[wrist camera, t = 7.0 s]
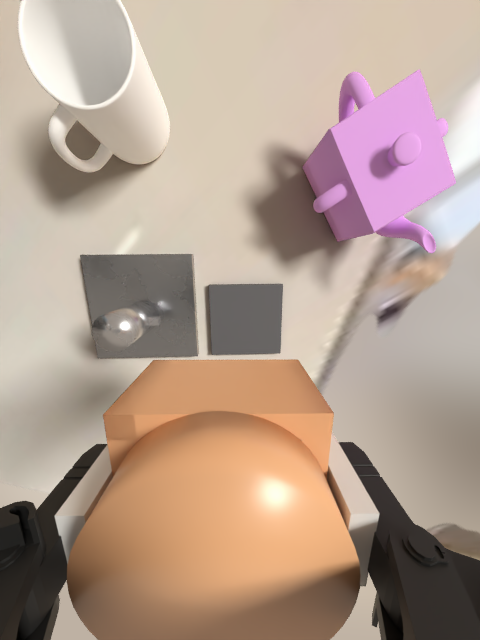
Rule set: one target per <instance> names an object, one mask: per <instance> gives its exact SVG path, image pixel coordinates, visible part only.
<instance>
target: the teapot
mask: <svg viewBox="0 0 480 640" xmlns="http://www.w3.org/2000/svg"><path fill="white" fill-rule="evenodd" d="M355 103H356V105H357V107H358V109H359V110H357V111H356V112H354V104H355ZM447 132H448V124H447V122H446V120H445V119H444V118H440V119H438V120H436V116H435V113H434V110H433V107H432V104H431V101H430V98H429V95H428V92H427V89H426V86H425V83H424V80H423V77H422V74H421V71H420V69H419V70H417V71H416V72H414V73H413V74H411V75H410V76H408V77H407V78H405V79H404V80H402V81H401V82H399V83H398V84H396V85H395V86H393V87H392V88H390V89H389V90H387V91H386V92H384V93H383V94H381V95H380V96H378V97H377V98H375V97H374V95H373V92H372V90H371V88H370V86H369V84H368V83H367V81H366V79H365V78H364V77H363V76H362V75H361V74H360V73H358V72H352V73H350V74H348V75H347V76H346V78H345V79H344V81H343V83H342V87H341V91H340V98H339V123H338V124H336V125H335V126H333V127H332V128H330V129H329V130H328V131H327V133H326V134H325V136H324V137H323V138H322V140H321V141H320V143H319V144H318V146H317V147H316V148H315V150H314V151H313V153H312V154H311V155H310V157H309V158H308V160H307V161H306V163H305V164H304V165H303V167H302V168H303V170H304V172H305V174H306V176H307V179H308V181H309V183H310V185H311V187H312V189H313V191H314V193H315V196H316V198H317V199H316V200H315V201H314V203H313V207H314V210H315V211H316V212H318V213H321V212H323V213H324V215H325V217H326V219H327V221H328V223H329V225H330V227H331V230H332V232H333V234H334V236H335V238H336V240H337V242H339V241H343V240H347V239H351V238H356V237H360V236H364V235H368V234H373V233H375V232H376V233H377V234H379V235H381V236H385V237H393V238H406V239H410V240H413V241H415V242H417V243H419V244H420V245H421V246H422V247H423V248H424V249H425V250H426V251H427V252H429V253H434V252H435V250H436V243H435V240H434V238H433V236H432V234H431V233H430V232H429V231H428V230H427V229H425V228H424V227H422V226H420V225H418V224H415V223H412V222H410V221H408V220H407V219H406V218H405V217H404V216H403V215H404V214H406V213H408V212H409V211H411V210H413V209H414V208H416V207H418V206H419V205H421V204H423V203H424V202H426V201H427V200H429V199H431V198H432V197H434V196H436V195H437V194H439V193H441V192H442V191H444V190H446V189H447V188H449V187H451V186H452V185H454V184H456V181H455V177H454V174H453V170H452V167H451V164H450V161H449V157H448V154H447V151H446V148H445V145H444V141H443V138H442V137H443V136H445V135H446V134H447Z"/></svg>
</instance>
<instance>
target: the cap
mask: <svg viewBox="0 0 480 640" xmlns="http://www.w3.org/2000/svg"><path fill="white" fill-rule="evenodd" d="M333 417H334V413H333V411H332V410H331V408H330V407H329V405H328V404H327V402H326V401H325V399H324V398H323V396H322V395H321V393H320V392H319V390H318V389H317V387H316V386H315V384H314V383H313V381H312V380H311V378H310V377H309V375H308V374H307V372H306V371H305V369H304V368H303V367H302V365H301V364H300V362H299V361H298V360H153V361H152V362H151V363H150V365H149V366H148V367H147V368H146V369H145V370H144V371H143V372H142V373H141V374H140V375H139V376H138V378H137V379H136V380H135V381H134V382H133V383H132V384H131V385H130V386H129V387H128V388H127V389H126V391H125V392H124V393H123V394H122V395H121V396H120V397H119V398H118V399H117V400H116V401H115V402H114V404H113V405H112V406H111V407H110V408H109V409H108V410H107V411H106V412H105V413H104V414H103V418H104V424H105V431H106V437H107V443H108V450H109V456H110V462H111V469H112V475H113V478H112V480H111V481H110V483H109V485H108V486H107V488H106V490H105V491H104V493H103V495H102V496H101V498H100V500H99V501H98V503H97V505H96V506H95V508H94V510H93V511H92V513H91V515H90V516H89V518H88V520H87V521H86V523H85V525H84V526H83V528H82V530H81V531H80V533H79V535H78V536H77V538H76V540H75V543H74V545H73V547H72V550H71V552H70V556H69V561H68V565H67V584H68V591H69V595H70V598H71V601H72V604H73V607H74V608H75V610H76V612H77V614H78V616H79V618H80V619H81V621H82V622H83V623H84V625H85V626H86V627H87V629H88V630H89V631H90V632H91V633H92V634H93V635H94V636H95V637H96V638H97V639H98V640H330V639H331V638H332V637H333V636H334V635H335V634H336V633H337V632H338V631H339V630H340V628H341V627H342V626H343V625H344V623H345V621H346V620H347V619H348V617H349V616H350V614H351V612H352V610H353V608H354V605H355V603H356V600H357V597H358V593H359V589H360V578H361V574H360V564H359V559H358V556H357V552H356V549H355V546H354V544H353V542H352V539H351V537H350V535H349V532H348V530H347V527H346V525H345V523H344V520H343V518H342V516H341V513H340V511H339V509H338V506H337V504H336V501H335V499H334V497H333V494H332V492H331V490H330V487H329V485H328V483H327V472H328V463H329V453H330V444H331V435H332V426H333Z"/></svg>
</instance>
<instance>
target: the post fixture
mask: <svg viewBox="0 0 480 640" xmlns="http://www.w3.org/2000/svg"><path fill="white" fill-rule="evenodd" d="M80 257H81V263H82V269H83V275H84V281H85V286H86V292H87V298H88V304H89V310H90V315H91V321H92V336H93V339H94V340H95V344H96V350H97V356H98V358H132V357H178V356H198V354H199V347H198V330H197V312H196V294H195V277H194V259H193V254H145V255H80Z"/></svg>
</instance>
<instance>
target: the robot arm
mask: <svg viewBox="0 0 480 640" xmlns="http://www.w3.org/2000/svg"><path fill="white" fill-rule="evenodd" d="M112 478H113V475H112V469H111V462H110V456H109V450H108V444H96V445H95V446H93V447H92V448H91V449H89V450H88V451H87V452H85V453H84V454H83V455H82V456H81V457H80V459H79V460H78V461H77V462H76V463H75V464H74V466H73V468H72V469H70V470H69V472H68V473H67V474H66V475H65V476H64V479H63V480H61V481H60V482H59V484H58V485H57V486H56V487H55V488H54V490H53V491H52V492H51V493H50V494H49V496H48V497H47V498H46V499H45V501H44V502H43V503H42V504H41V505H40V507H39V508H38V509H37V510H36V508H35V506H34V504H33V503H31V502H28V501H22V502H15V503H12V504H10V505H7V506H5V507H2V508H0V640H50V639H51V635H52V632H53V628H54V625H55V621H56V618H57V614H58V610H59V601H60V599H59V595H58V594H59V592H60V590H61V589H62V587H63V585H64V583H65V582H66V580H67V565H68V561H69V556H70V552H71V550H72V547H73V545H74V543H75V540H76V538H77V536H78V535H79V533H80V531H81V530H82V528H83V526H84V525H85V523H86V521H87V520H88V518H89V516H90V515H91V513H92V511H93V510H94V508H95V506H96V505H97V503H98V501H99V500H100V498H101V496H102V495H103V493H104V491H105V490H106V488H107V486H108V485H109V483H110V481H111V480H112ZM327 483H328V485H329V487H330V490H331V492H332V494H333V497H334V499H335V501H336V504H337V506H338V509H339V511H340V513H341V516H342V518H343V520H344V523H345V525H346V527H347V530H348V532H349V535H350V537H351V539H352V542H353V544H354V546H355V549H356V552H357V556H358V559H359V564H360V574H361V578H360V586H366V583H367V577H368V572H369V574H370V577H371V579H372V581H373V584H374V586H375V588H376V590H377V594H376V598H375V603H374V608H373V613H372V625H373V626H375V627H377V624H378V622H379V628H380V634H381V640H480V560H477V559H474V558H471V557H468V556H465V555H462V554H459V553H456V552H453V551H451V550H448V549H446V548H444V546H443V545H442V544H441V543H440V542H439V541H438V540H437V539H436V538H435V537H434V536H433V535H431V534H430V533H429V532H427V531H426V530H425V529H423V528H422V527H420V526H418V525H415V524H414V523H413V522H412V520H411V519H410V518H409V517H408V515H407V514H406V512H405V510H404V509H403V508H402V506H401V505H400V503H399V502H398V501H397V499H396V498H395V496H394V495H393V493H392V492H391V490H390V489H389V487H388V486H387V485H386V483H385V482H384V480H383V479H382V477H380V474H379V473H378V471H377V470H376V468H375V467H373V464H372V463H371V461H370V460H369V458H368V457H367V455H366V454H365V453H364V452H363V451H362V450H361V449H360V448H359V447H357V446H356V445H355V444H354V443H353V442H338V441H337V439H336V438H335V436H334V434H333V433H332V435H331V444H330V453H329V463H328V472H327Z"/></svg>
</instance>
